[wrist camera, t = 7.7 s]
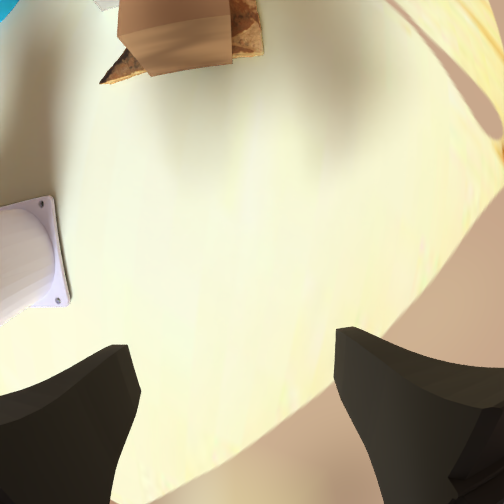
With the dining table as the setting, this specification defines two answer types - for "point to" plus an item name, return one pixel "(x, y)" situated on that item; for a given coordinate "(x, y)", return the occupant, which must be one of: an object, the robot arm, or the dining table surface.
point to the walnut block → (176, 33)
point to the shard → (242, 37)
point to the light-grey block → (106, 4)
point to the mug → (6, 7)
